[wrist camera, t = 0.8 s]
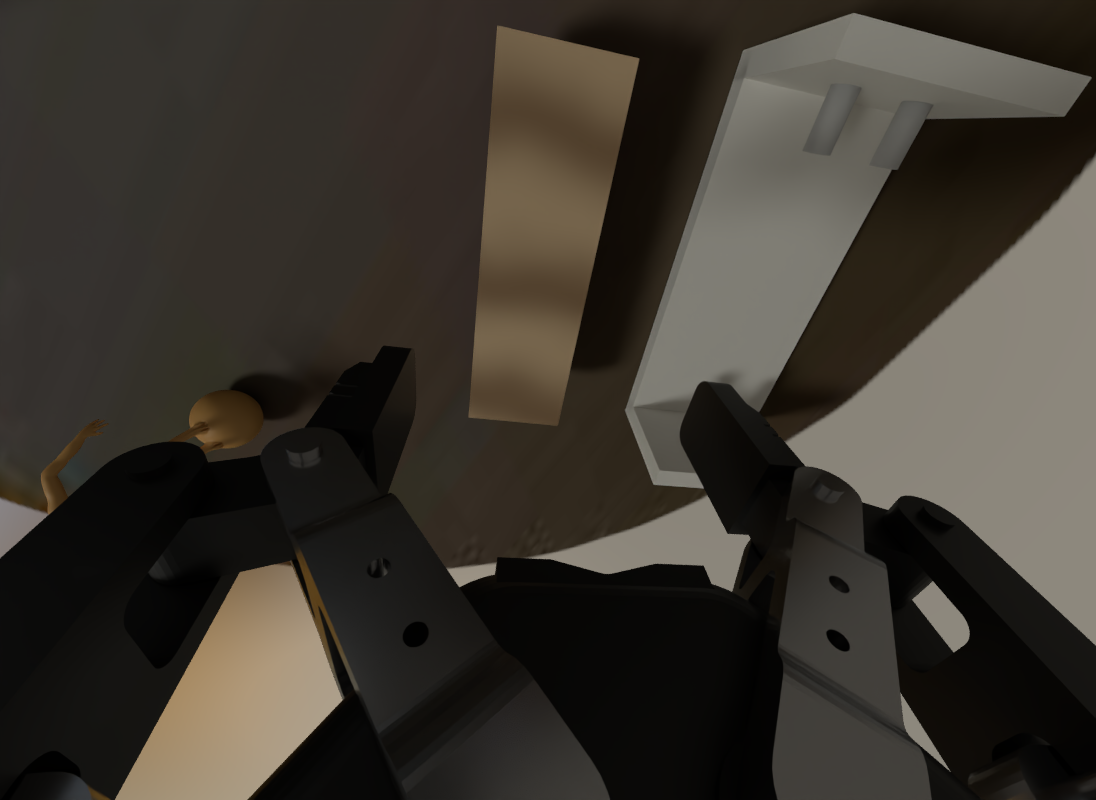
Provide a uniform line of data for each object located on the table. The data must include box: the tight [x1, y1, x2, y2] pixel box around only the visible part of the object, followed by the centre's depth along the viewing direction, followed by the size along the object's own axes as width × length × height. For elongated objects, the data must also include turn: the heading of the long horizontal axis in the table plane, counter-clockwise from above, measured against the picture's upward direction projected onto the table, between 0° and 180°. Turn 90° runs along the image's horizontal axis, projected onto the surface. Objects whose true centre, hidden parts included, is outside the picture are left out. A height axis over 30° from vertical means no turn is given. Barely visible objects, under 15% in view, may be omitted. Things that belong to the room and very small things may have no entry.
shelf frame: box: [625, 13, 1092, 488], centre depth 24 cm, size 22×10×8 cm, turn 171°
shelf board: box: [469, 26, 639, 426], centre depth 21 cm, size 18×6×2 cm, turn 171°
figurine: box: [41, 390, 264, 514], centre depth 25 cm, size 8×6×12 cm
